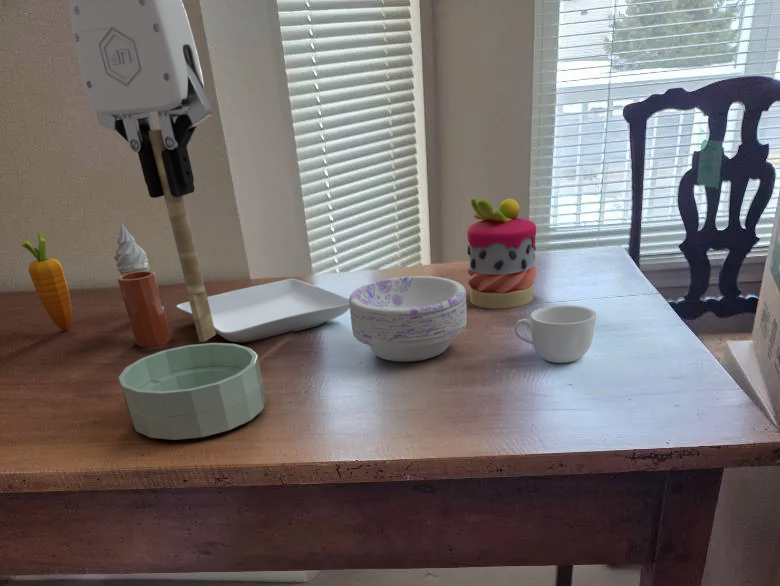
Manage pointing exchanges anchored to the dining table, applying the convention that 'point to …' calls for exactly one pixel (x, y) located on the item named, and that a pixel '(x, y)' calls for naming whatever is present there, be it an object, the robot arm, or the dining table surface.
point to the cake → (501, 256)
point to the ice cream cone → (129, 254)
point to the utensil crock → (145, 308)
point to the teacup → (560, 332)
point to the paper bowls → (408, 316)
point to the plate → (271, 309)
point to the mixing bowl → (193, 390)
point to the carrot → (50, 285)
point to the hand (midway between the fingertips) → (172, 193)
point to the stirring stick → (184, 247)
